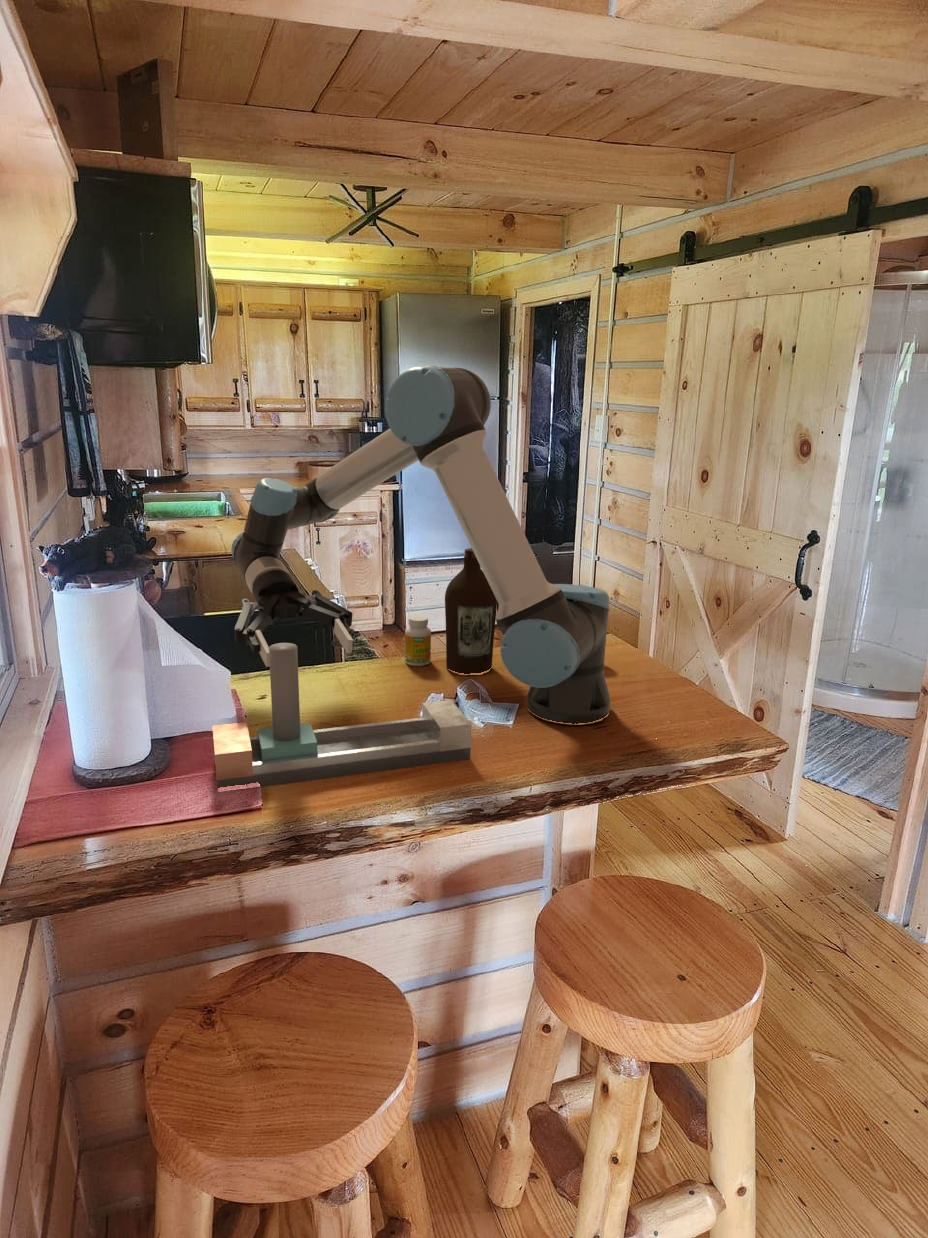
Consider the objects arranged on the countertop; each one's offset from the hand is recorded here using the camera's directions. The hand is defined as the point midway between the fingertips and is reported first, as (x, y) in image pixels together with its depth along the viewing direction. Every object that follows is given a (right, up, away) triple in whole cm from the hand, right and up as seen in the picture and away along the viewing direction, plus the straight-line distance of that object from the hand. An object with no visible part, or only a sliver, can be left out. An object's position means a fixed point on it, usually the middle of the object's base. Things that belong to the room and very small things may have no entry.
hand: (310, 653), depth 127 cm
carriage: (-2, -15, -8) cm, 17 cm away
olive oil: (+26, -5, +36) cm, 44 cm away
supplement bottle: (+15, -4, +39) cm, 42 cm away
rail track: (+6, -16, -5) cm, 18 cm away
